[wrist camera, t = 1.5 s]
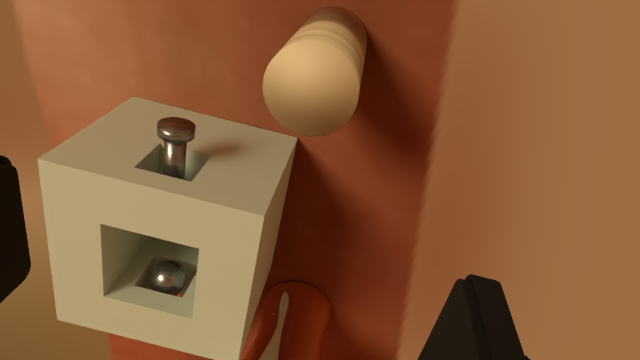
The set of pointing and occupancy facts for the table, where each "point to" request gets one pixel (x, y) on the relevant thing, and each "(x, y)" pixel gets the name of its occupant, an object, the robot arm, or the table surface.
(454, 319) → the robot arm
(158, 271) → the plunger
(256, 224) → the socket
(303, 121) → the peg
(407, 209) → the table surface
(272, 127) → the table surface
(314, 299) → the beer glass
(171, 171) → the plunger
